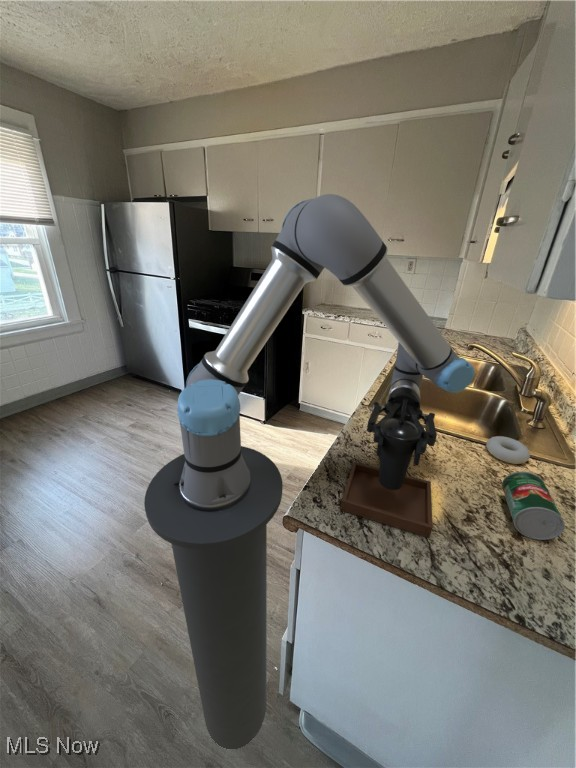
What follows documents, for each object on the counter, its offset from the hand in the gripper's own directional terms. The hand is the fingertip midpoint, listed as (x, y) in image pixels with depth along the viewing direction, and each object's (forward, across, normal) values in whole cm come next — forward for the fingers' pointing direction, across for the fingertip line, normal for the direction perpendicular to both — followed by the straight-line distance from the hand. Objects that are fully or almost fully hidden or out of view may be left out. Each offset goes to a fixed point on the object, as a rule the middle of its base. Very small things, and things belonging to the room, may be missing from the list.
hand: (397, 454), depth 58 cm
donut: (-35, -29, -17) cm, 48 cm away
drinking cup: (-5, 0, -11) cm, 12 cm away
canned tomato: (-17, -28, -12) cm, 35 cm away
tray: (-5, 0, -16) cm, 17 cm away
